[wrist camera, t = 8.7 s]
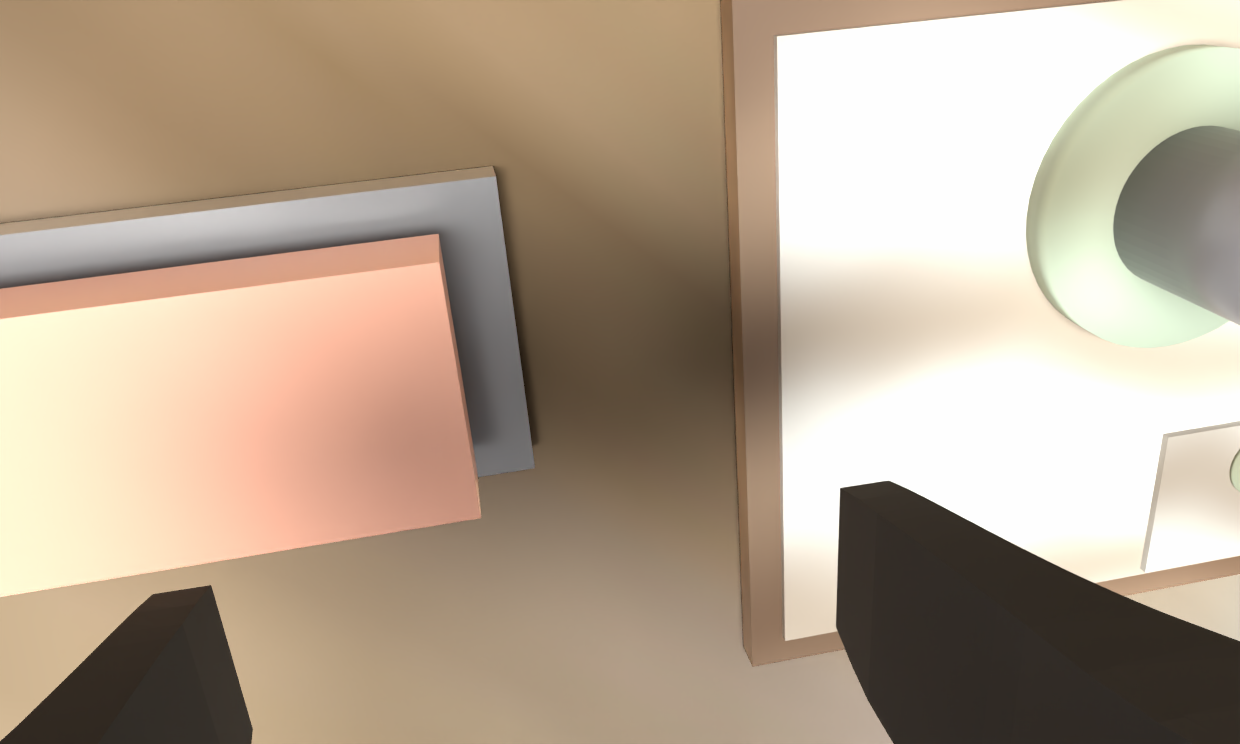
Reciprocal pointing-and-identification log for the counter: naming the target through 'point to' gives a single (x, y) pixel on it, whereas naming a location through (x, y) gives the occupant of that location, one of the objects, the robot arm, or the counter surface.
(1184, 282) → the marker
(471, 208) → the button base
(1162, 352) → the board
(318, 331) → the button
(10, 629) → the counter surface
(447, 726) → the counter surface
